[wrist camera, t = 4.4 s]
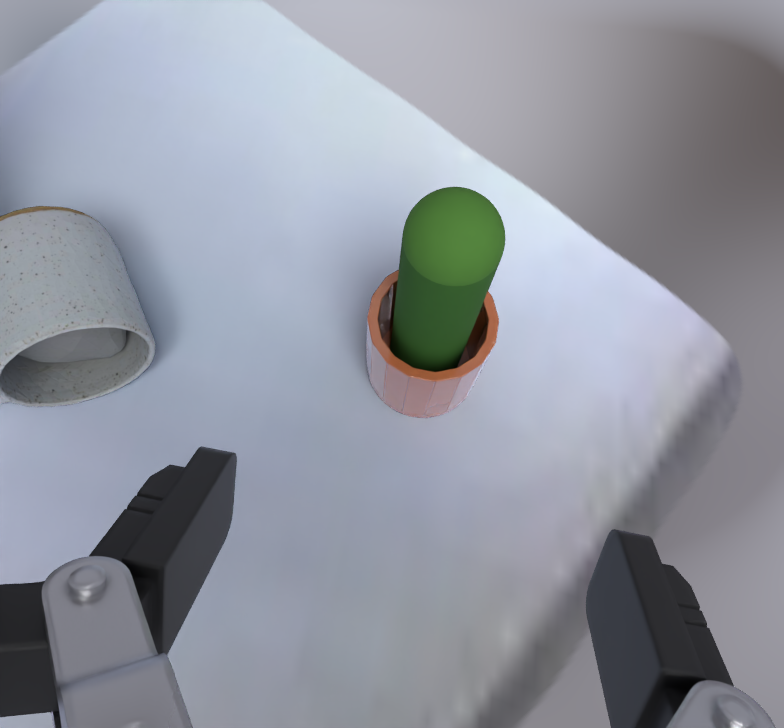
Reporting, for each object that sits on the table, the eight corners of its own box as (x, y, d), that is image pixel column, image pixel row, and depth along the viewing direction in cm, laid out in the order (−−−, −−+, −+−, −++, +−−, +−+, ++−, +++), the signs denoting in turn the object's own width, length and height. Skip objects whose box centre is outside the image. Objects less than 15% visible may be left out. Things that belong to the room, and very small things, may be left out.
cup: (357, 406, 37) (356, 366, 31) (378, 306, 39) (382, 250, 33) (467, 427, 37) (488, 392, 30) (483, 326, 39) (506, 274, 33)
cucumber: (382, 386, 36) (396, 248, 22) (395, 324, 38) (416, 156, 24) (450, 400, 36) (507, 269, 22) (461, 337, 38) (521, 176, 24)
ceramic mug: (127, 249, 39) (72, 170, 32) (175, 367, 37) (127, 310, 30) (-54, 320, 37) (-156, 253, 30) (-16, 448, 35) (-117, 409, 28)
